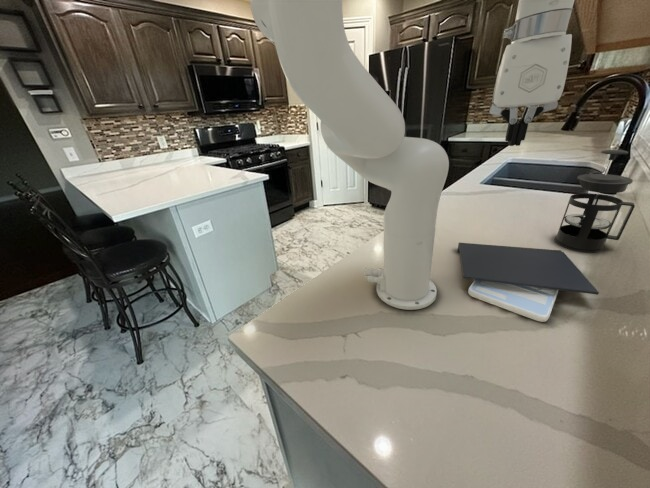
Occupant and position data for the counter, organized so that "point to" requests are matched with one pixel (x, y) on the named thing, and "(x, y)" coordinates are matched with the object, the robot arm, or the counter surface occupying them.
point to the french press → (594, 211)
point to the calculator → (516, 298)
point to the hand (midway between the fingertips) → (513, 144)
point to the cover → (523, 268)
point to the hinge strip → (507, 246)
